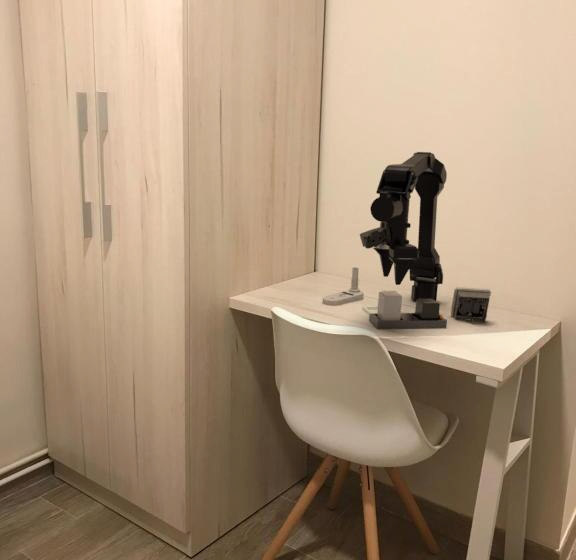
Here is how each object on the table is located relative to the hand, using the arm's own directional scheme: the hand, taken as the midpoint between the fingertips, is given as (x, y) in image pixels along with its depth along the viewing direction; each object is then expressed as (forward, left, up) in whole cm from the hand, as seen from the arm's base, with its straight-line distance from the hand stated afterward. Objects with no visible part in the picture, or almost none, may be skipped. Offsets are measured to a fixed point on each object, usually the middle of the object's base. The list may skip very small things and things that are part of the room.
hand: (391, 280), depth 154 cm
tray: (-2, -11, -12) cm, 16 cm away
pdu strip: (-5, 0, -12) cm, 13 cm away
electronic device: (+6, -24, -12) cm, 28 cm away
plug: (0, 0, -11) cm, 11 cm away
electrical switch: (-24, -4, -12) cm, 27 cm away
